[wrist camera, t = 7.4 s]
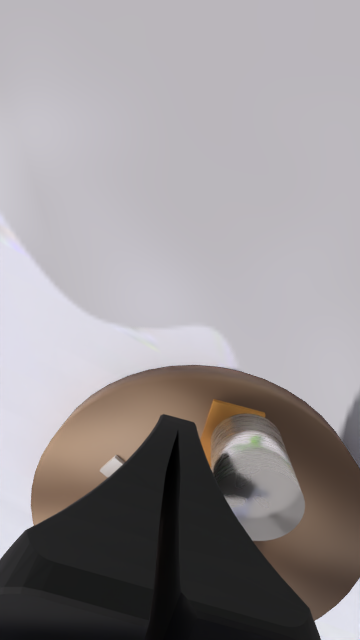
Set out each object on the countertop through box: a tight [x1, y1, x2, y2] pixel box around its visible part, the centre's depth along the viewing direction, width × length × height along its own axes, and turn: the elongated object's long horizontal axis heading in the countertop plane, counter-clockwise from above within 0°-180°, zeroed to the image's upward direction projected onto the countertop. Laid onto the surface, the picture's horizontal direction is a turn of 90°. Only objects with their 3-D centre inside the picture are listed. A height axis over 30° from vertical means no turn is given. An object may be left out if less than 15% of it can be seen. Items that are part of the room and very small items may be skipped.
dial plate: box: [31, 365, 360, 621], centre depth 16 cm, size 18×18×2 cm
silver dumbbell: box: [210, 413, 305, 541], centre depth 13 cm, size 11×4×4 cm, turn 162°
